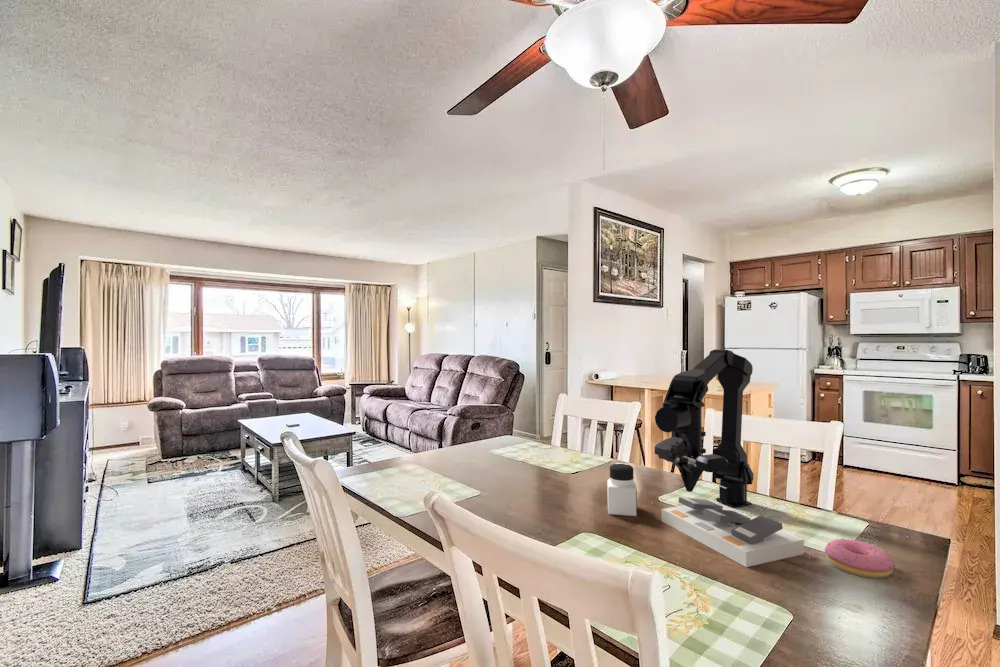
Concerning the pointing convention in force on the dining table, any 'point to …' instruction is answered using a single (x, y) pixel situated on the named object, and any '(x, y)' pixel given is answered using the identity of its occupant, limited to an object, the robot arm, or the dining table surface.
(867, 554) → the doughnut
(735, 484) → the robot arm
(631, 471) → the medicine bottle
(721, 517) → the rocker middle
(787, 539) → the switch unit
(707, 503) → the block
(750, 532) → the rocker
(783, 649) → the dining table surface
